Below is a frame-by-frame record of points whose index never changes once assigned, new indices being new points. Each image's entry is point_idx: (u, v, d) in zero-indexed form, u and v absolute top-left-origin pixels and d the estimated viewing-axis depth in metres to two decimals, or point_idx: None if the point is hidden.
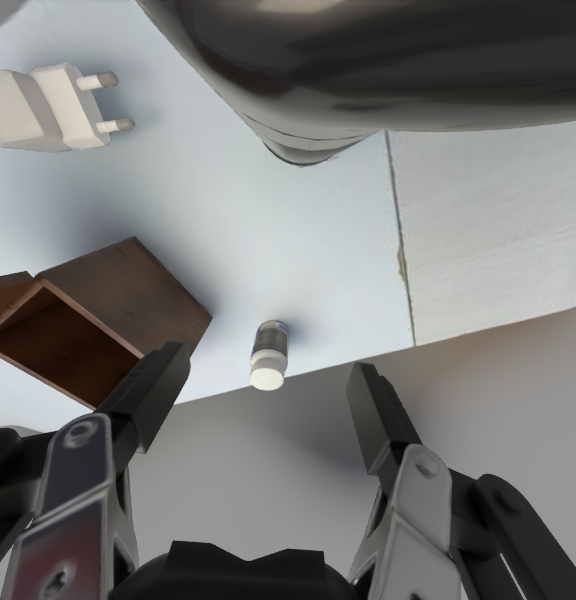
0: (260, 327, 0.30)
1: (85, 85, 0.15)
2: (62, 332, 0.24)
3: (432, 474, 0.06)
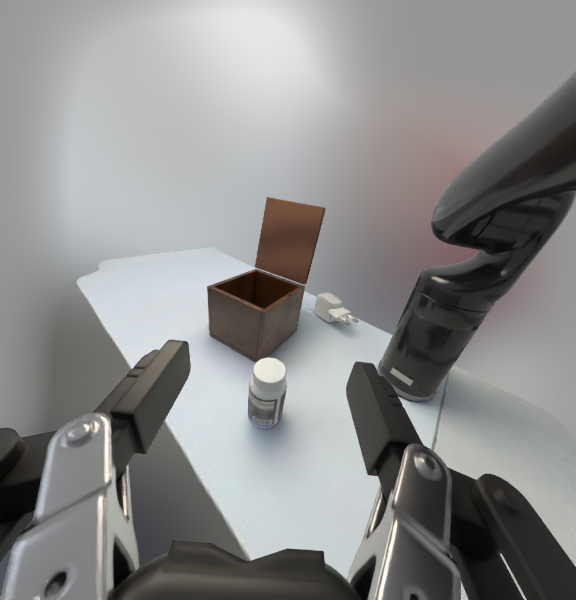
0: None
1: (349, 315, 0.49)
2: (246, 293, 0.46)
3: (432, 474, 0.06)
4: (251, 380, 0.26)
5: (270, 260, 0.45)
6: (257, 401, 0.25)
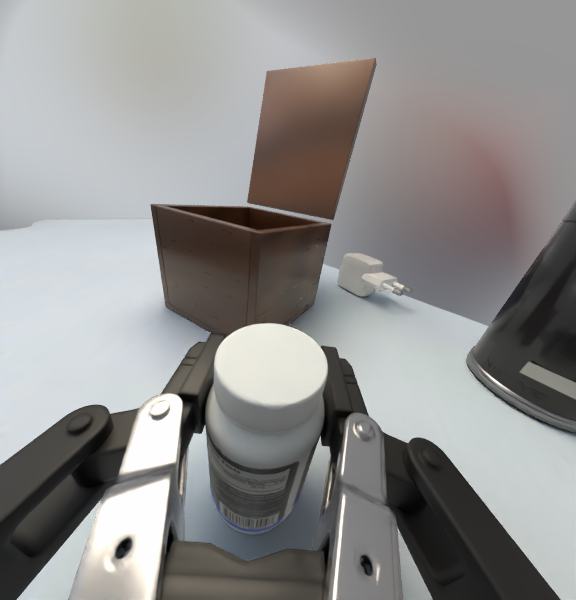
0: None
1: (396, 283, 0.31)
2: None
3: (366, 436, 0.06)
4: (212, 392, 0.08)
5: (272, 186, 0.27)
6: (228, 468, 0.07)
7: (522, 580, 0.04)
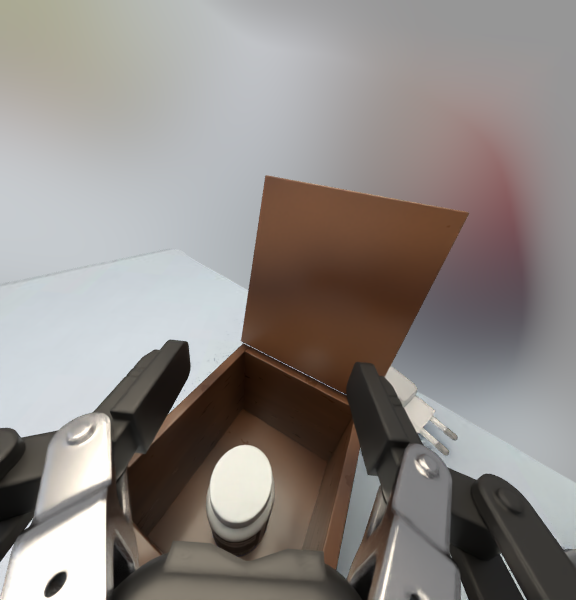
0: None
1: (435, 420, 0.25)
2: (223, 404, 0.20)
3: (432, 474, 0.06)
4: (209, 498, 0.14)
5: (278, 335, 0.19)
6: (223, 541, 0.13)
7: None
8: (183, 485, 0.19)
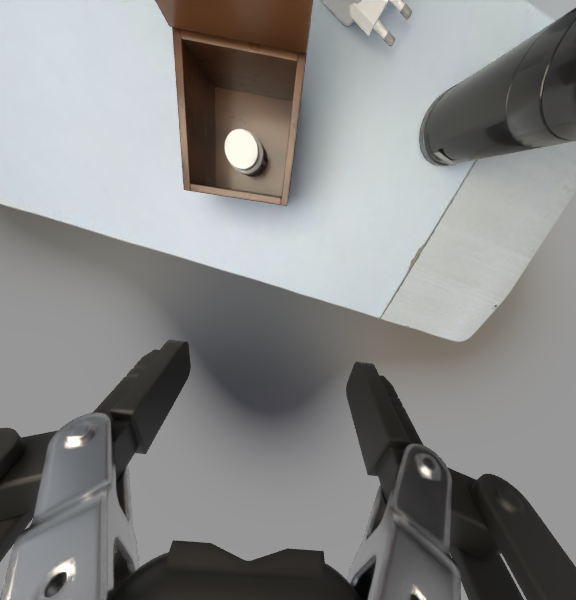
0: None
1: None
2: (201, 101, 0.25)
3: (432, 474, 0.06)
4: (231, 163, 0.27)
5: (200, 6, 0.17)
6: (248, 174, 0.29)
7: None
8: (214, 160, 0.32)
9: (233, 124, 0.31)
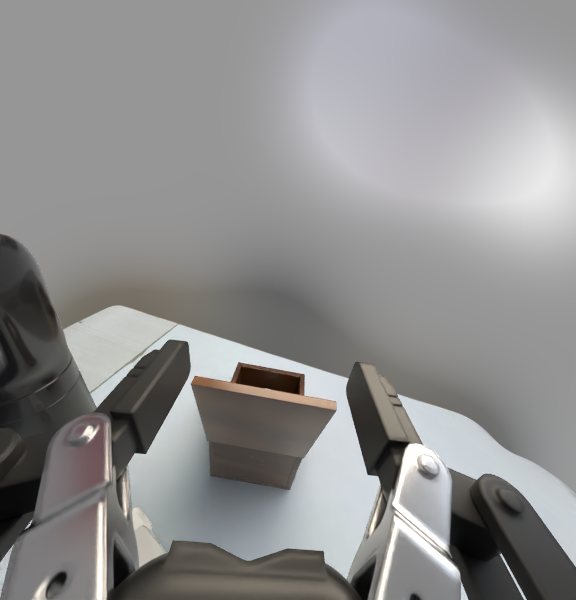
0: None
1: None
2: None
3: (432, 474, 0.06)
4: None
5: None
6: None
7: None
8: None
9: None
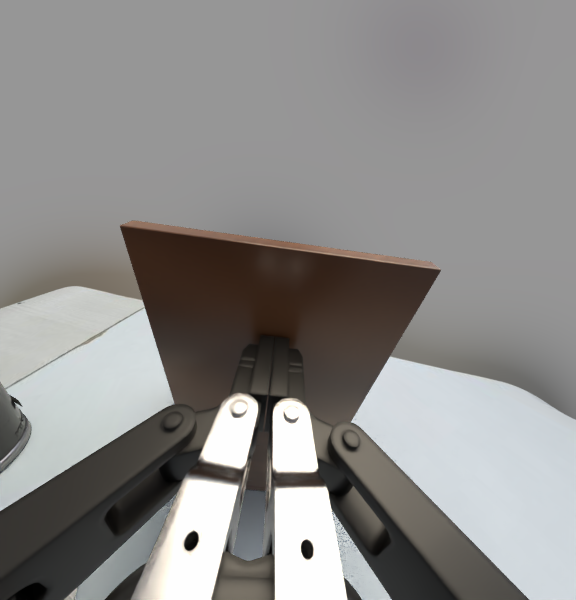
0: None
1: None
2: None
3: (291, 419, 0.07)
4: None
5: None
6: None
7: (430, 523, 0.05)
8: None
9: None
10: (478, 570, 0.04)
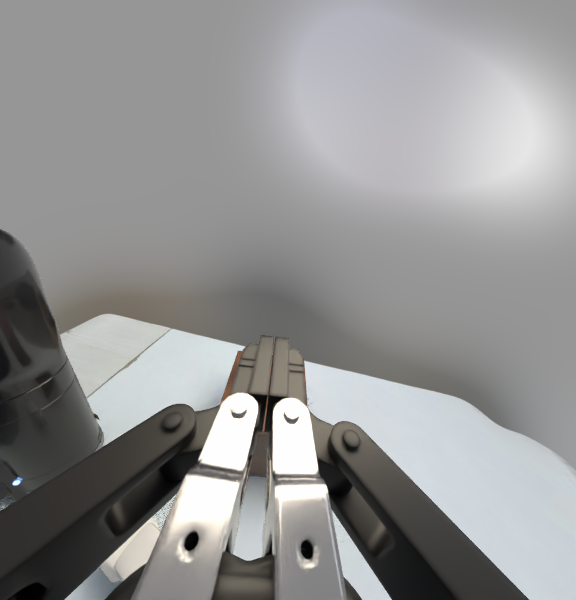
0: None
1: None
2: None
3: (291, 419, 0.07)
4: None
5: None
6: None
7: (430, 523, 0.05)
8: None
9: None
10: (478, 570, 0.04)
